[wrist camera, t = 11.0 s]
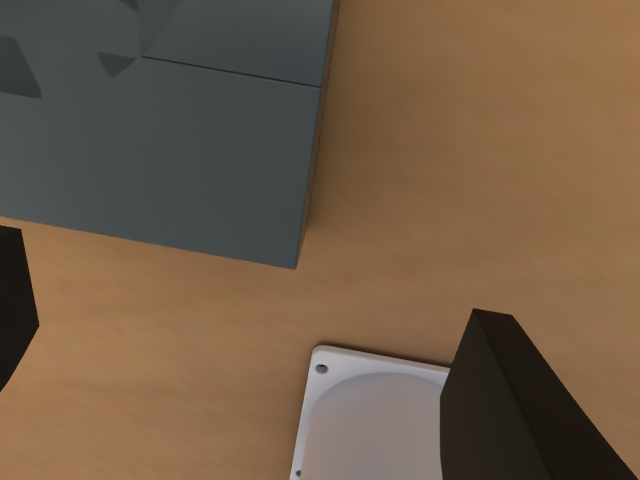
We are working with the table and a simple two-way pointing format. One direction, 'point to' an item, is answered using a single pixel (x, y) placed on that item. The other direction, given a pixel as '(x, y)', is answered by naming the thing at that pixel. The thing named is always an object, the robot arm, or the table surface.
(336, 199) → the table surface
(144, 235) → the hole board
